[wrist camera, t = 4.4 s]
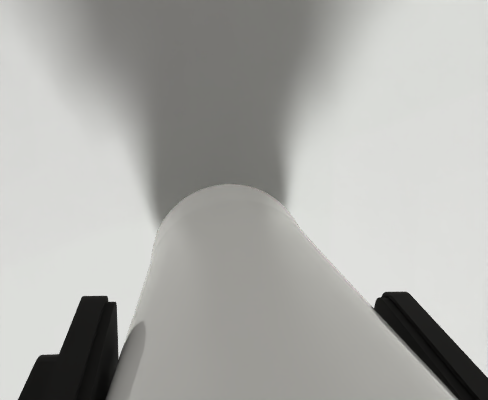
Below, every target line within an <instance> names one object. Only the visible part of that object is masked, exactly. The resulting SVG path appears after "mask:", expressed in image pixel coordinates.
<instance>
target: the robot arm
mask: <svg viewBox="0 0 488 400" xmlns="http://www.w3.org/2000/svg"><path fill="white" fill-rule="evenodd" d="M374 309H375V310H376V311H377V312H378V313H379V315H380V316H381V317H382V318H383V319H384V320H385V321H386V322H387V323H388V324H389V325H390V326H391V327H392V328H393V329H394V330H395V332H396V333H397V334H398V335H399V336H400V337H401V338H402V339H403V340H404V341H405V342H406V343H407V344H408V345H409V346H410V348H411V349H412V350H413V351H414V352H415V353H416V354H417V355H418V356H419V357H420V358H421V359H422V360H423V361H424V362H425V364H426V365H427V366H428V367H429V368H430V369H431V370H432V371H433V372H434V373H435V374H436V375H437V376H438V377H439V379H440V380H441V381H442V382H443V383H444V384H445V385H446V386H447V387H448V388H449V389H450V390H451V392H452V393H453V394H454V395H455V396H456V397H457V398H458V399H459V400H488V378H487V377H486V376H485V375H484V373H483V372H482V371H481V370H480V369H479V368H478V367H477V366H476V365H475V364H474V363H473V362H472V361H471V359H470V358H469V357H468V356H467V355H466V354H465V353H464V352H463V351H462V350H461V349H460V348H459V347H458V345H457V344H456V343H455V342H454V341H453V340H452V339H451V338H450V337H449V336H448V335H447V334H446V333H445V331H444V330H443V329H442V328H441V327H440V326H439V325H438V324H437V323H436V322H435V321H434V320H433V319H432V317H431V316H430V315H429V314H428V313H427V312H426V311H425V310H424V309H423V308H422V307H421V306H420V305H419V303H418V302H417V301H416V300H415V299H414V298H413V297H412V296H411V295H410V294H409V293H408V292H385V293H383V295H382V297H381V298H377V300H376V302H375V307H374ZM117 363H118V332H117V305H116V302H108V297H107V296H83V297H82V298H81V301H80V303H79V306H78V308H77V311H76V313H75V316H74V318H73V321H72V323H71V326H70V328H69V331H68V333H67V336H66V338H65V341H64V343H63V346H62V348H61V351H60V353H59V354H55V355H41V356H39V357H38V359H37V360H36V362H35V364H34V366H33V368H32V371H31V373H30V375H29V377H28V379H27V381H26V384H25V386H24V388H23V390H22V392H21V394H20V397H19V399H18V400H105V398H106V395H107V392H108V389H109V386H110V383H111V380H112V377H113V374H114V372H115V369H116V366H117Z"/></svg>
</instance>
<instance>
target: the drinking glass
mask: <svg viewBox="0 0 488 400" xmlns="http://www.w3.org/2000/svg"><path fill="white" fill-rule="evenodd" d="M105 400H459V399H458V398H457V397H456V396H455V395H454V394H453V393H452V392H451V390H450V389H449V388H448V387H447V386H446V385H445V384H444V383H443V382H442V381H441V380H440V379H439V377H438V376H437V375H436V374H435V373H434V372H433V371H432V370H431V369H430V368H429V367H428V366H427V365H426V364H425V362H424V361H423V360H422V359H421V358H420V357H419V356H418V355H417V354H416V353H415V352H414V351H413V350H412V349H411V348H410V346H409V345H408V344H407V343H406V342H405V341H404V340H403V339H402V338H401V337H400V336H399V335H398V334H397V333H396V332H395V330H394V329H393V328H392V327H391V326H390V325H389V324H388V323H387V322H386V321H385V320H384V319H383V318H382V317H381V316H380V315H379V313H378V312H377V311H376V310H375V309H374V308H373V307H372V306H371V305H370V304H369V303H368V302H367V301H366V300H365V299H364V298H363V296H362V295H361V294H360V293H359V292H358V291H357V290H356V289H355V288H354V287H353V286H352V285H351V284H350V282H349V281H348V280H347V279H346V278H345V277H344V276H343V275H342V274H341V273H340V272H339V271H338V270H337V269H336V267H335V266H334V265H333V264H332V263H331V262H330V261H329V260H328V259H327V258H326V257H325V255H324V254H323V253H322V252H321V251H320V250H319V249H318V248H317V247H316V246H315V245H314V243H313V242H312V241H311V240H310V239H309V238H308V237H307V236H306V235H305V233H304V232H303V231H302V230H301V229H300V227H299V226H298V224H297V223H296V221H295V220H294V218H293V217H292V215H291V214H290V213H289V211H288V210H287V209H286V208H285V207H284V206H283V205H282V204H281V203H280V202H279V201H278V200H277V199H275V198H274V197H272V196H271V195H269V194H267V193H266V192H264V191H261V190H259V189H257V188H254V187H250V186H246V185H240V184H220V185H214V186H210V187H206V188H203V189H201V190H198V191H196V192H194V193H192V194H190V195H189V196H187V197H185V198H184V199H183V200H181V201H180V202H179V203H178V204H177V205H175V206H174V207H173V208H172V209H171V211H170V212H169V213H168V214H167V216H166V217H165V218H164V220H163V222H162V223H161V225H160V227H159V229H158V231H157V234H156V237H155V240H154V245H153V250H152V256H151V262H150V266H149V269H148V272H147V275H146V279H145V282H144V285H143V288H142V291H141V294H140V297H139V300H138V303H137V306H136V309H135V312H134V315H133V318H132V321H131V324H130V327H129V330H128V333H127V336H126V339H125V342H124V345H123V348H122V351H121V354H120V357H119V360H118V363H117V366H116V369H115V372H114V374H113V377H112V380H111V383H110V386H109V389H108V392H107V395H106V398H105Z"/></svg>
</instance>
